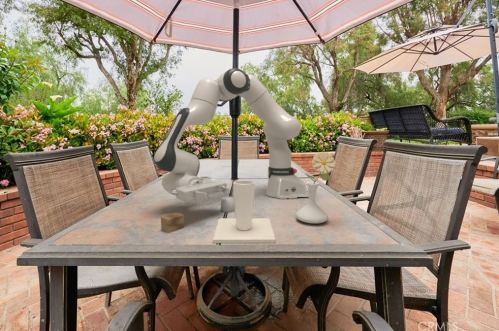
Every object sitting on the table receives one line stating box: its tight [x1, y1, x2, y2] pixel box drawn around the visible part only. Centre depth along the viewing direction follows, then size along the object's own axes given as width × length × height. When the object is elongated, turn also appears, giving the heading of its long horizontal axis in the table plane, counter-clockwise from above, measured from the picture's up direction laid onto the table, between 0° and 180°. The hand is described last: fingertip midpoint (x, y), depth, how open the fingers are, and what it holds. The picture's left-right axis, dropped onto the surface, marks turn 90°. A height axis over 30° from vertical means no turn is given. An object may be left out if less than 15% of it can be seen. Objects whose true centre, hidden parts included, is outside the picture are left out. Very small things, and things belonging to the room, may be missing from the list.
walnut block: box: [160, 212, 185, 234], centre depth 82 cm, size 6×4×4 cm, turn 141°
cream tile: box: [212, 217, 276, 244], centre depth 81 cm, size 18×18×1 cm
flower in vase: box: [295, 151, 337, 224], centre depth 89 cm, size 13×11×25 cm
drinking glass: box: [232, 179, 256, 230], centre depth 80 cm, size 7×7×15 cm
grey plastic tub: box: [220, 196, 235, 213], centre depth 103 cm, size 6×6×5 cm
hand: (217, 193), depth 87 cm, fingers open, 8 cm apart
